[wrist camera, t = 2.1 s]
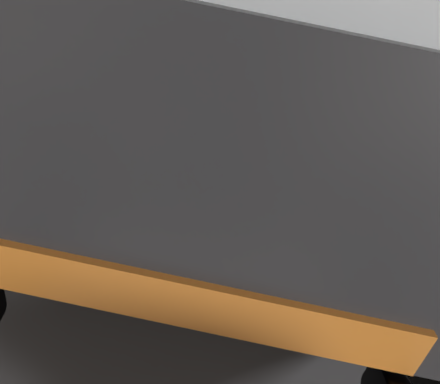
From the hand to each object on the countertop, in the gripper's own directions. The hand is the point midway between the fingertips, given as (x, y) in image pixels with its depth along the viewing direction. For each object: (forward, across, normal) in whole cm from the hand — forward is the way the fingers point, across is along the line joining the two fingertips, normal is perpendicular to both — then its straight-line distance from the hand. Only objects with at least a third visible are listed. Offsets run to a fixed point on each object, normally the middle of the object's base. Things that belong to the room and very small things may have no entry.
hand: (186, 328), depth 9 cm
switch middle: (+1, 0, -4) cm, 4 cm away
